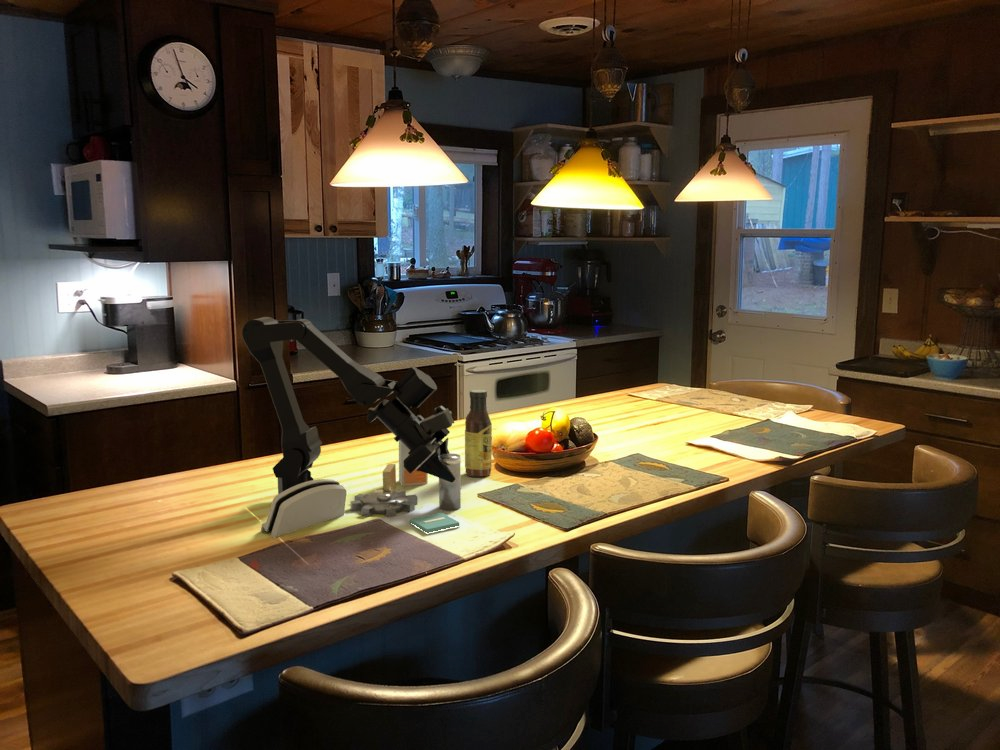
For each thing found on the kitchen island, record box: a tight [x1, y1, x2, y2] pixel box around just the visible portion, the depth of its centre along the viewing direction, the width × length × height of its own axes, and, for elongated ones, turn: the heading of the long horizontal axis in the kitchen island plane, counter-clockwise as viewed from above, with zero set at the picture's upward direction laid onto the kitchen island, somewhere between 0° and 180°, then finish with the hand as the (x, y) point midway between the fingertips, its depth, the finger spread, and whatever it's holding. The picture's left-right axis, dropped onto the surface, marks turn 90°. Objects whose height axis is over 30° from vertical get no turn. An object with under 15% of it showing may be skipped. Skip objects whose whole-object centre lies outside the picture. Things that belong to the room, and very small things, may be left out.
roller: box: [438, 453, 462, 512], centre depth 172 cm, size 4×4×11 cm
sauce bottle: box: [464, 389, 493, 478], centre depth 196 cm, size 7×6×20 cm
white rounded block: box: [260, 478, 347, 539], centre depth 163 cm, size 17×5×10 cm, turn 140°
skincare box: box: [398, 440, 429, 487], centre depth 190 cm, size 6×4×12 cm
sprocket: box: [349, 463, 418, 518], centre depth 174 cm, size 16×13×6 cm
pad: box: [409, 512, 460, 533], centre depth 162 cm, size 7×7×1 cm
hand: (456, 477), depth 172 cm, fingers closed on roller, 4 cm apart
